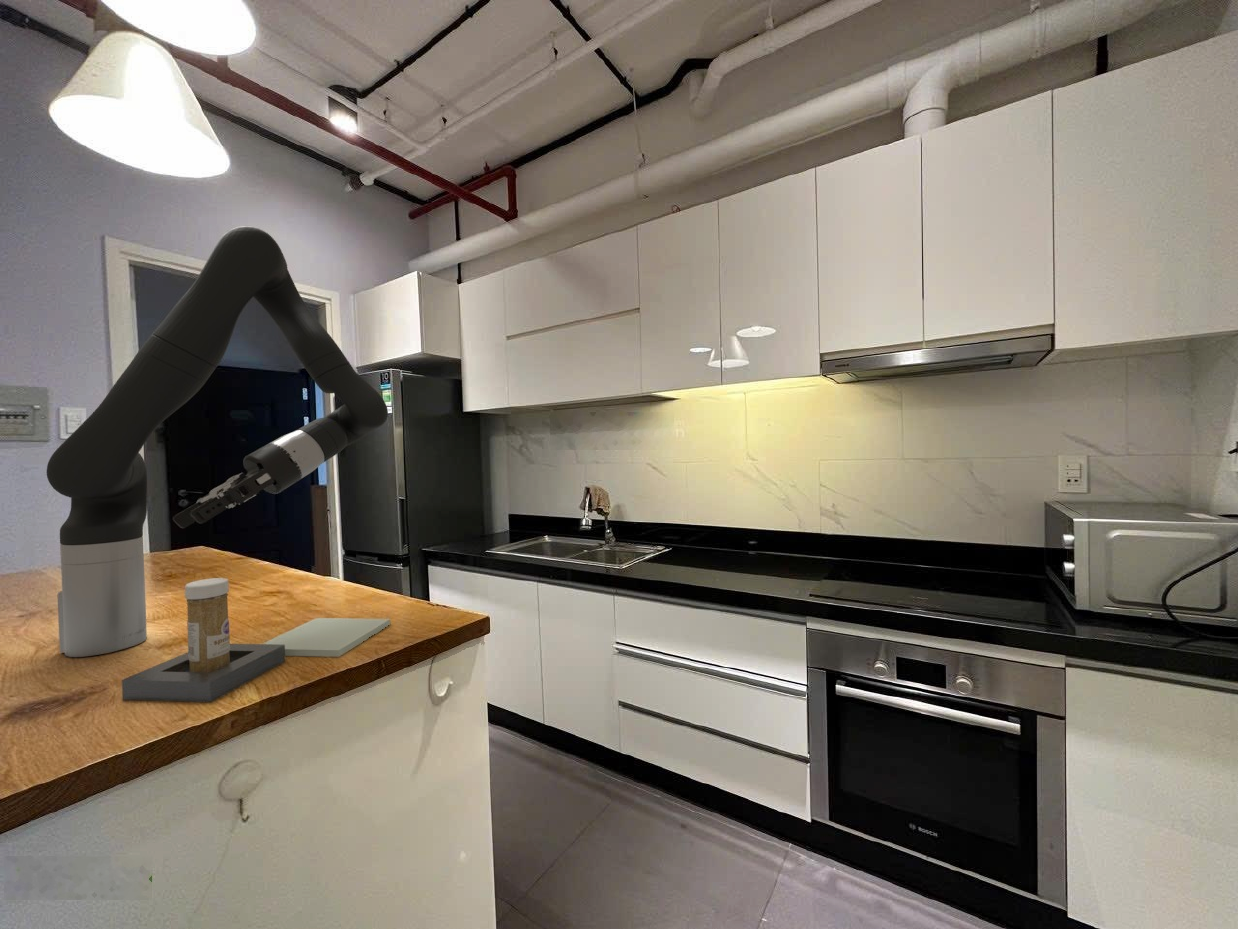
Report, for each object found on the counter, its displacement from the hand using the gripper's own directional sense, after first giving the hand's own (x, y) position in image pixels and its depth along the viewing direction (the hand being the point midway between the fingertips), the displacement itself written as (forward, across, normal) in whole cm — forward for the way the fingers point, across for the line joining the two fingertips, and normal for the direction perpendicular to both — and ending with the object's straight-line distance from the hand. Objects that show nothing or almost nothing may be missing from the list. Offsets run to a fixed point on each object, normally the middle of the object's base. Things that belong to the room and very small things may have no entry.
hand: (185, 521), depth 72 cm
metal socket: (+12, +6, +19) cm, 23 cm away
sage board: (-2, +4, +27) cm, 27 cm away
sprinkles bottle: (+12, +6, +19) cm, 23 cm away
